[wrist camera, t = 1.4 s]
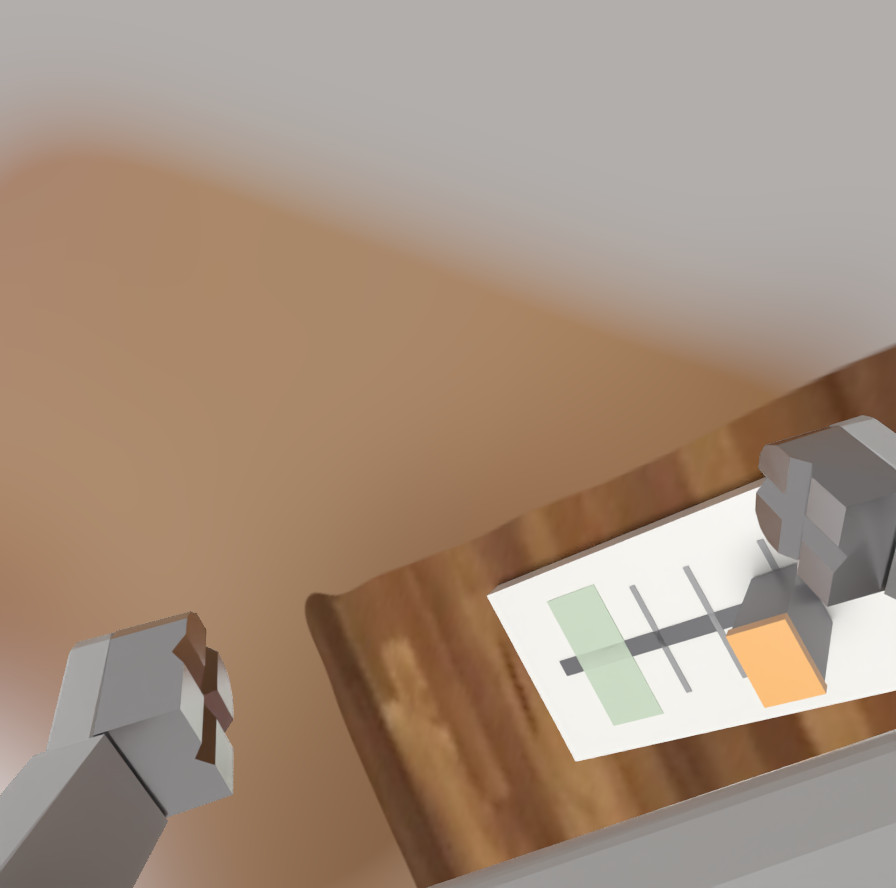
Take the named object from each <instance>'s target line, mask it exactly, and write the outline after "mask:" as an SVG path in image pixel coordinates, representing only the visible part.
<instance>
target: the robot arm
mask: <svg viewBox="0 0 896 888" xmlns="http://www.w3.org/2000/svg"><path fill="white" fill-rule="evenodd" d="M759 469H760V471H761V472H762V473H763V474H764V475H765V476H766V477H767V478H766V480H765V481H764V482H763V484H762V485H761V486H760V488H759V489H758V491H757V492H756V503H755V512H756V515H757V519H758V522H759V526H760V529H761V530H762V532H763V534H764V536H765V537H766V539H767V541H768V542H769V543H770V544H771V545H772V547H773V548H774V549H775V550H776V551H777V552H778V553H779V554H782V555H785V556H787V557H790V558H792V559H795V560H798V564H797V575H798V576H799V577H800V578H801V579H802V580H803V581H804V582H805V583H806V584H807V585H808V587H809V588H810V589H811V590H812V591H813V592H814V593H815V594H816V595H817V596H818V597H819V599H820V600H821V601H822V602H823V603H824V604H825V605H826V606H827V607H829V606H833V605H836V604H840V603H843V602H847V601H850V600H854V599H857V598H861V597H864V596H868V595H871V594H875V593H878V592H882V591H885V592H884V594H885V595H887V596H889V597H892V598H894V599H896V433H894V432H893V431H891V430H890V429H889V428H887V427H886V426H884V425H883V424H882V423H880V422H879V421H878V420H876V419H875V418H872V417H868V416H864V415H862V416H859V417H856V418H852V419H849V420H846V421H843V422H839V423H836V424H833V425H830V426H829V427H824V428H821V429H818V430H814V431H811V432H808V433H804V434H801V435H798V436H794V437H791V438H787V439H784V440H781V441H777V442H774V443H771V444H767V445H765V446H764V448H763V450H762V452H761V453H760V459H759ZM232 721H233V698H232V693H231V686H230V681H229V677H228V674H227V671H226V668H225V665H224V663H223V661H222V659H221V657H220V655H219V653H218V652H217V651H215V650H213V649H211V648H208V647H206V628H205V627H204V625H203V623H202V622H201V620H200V618H199V616H198V615H197V613H194V612H191V611H190V612H187V613H183V614H179V615H176V616H172V617H168V618H164V619H160V620H157V621H153V622H149V623H145V624H142V625H138V626H134V627H130V628H127V629H123V630H119V631H116V632H115V633H111V634H107V635H103V636H99V637H96V638H92V639H88V640H84V641H80V642H77V643H76V645H75V646H74V647H73V648H72V650H71V651H70V653H69V657H68V661H67V666H66V670H65V674H64V678H63V682H62V686H61V690H60V695H59V699H58V703H57V707H56V711H55V715H54V720H53V724H52V728H51V732H50V736H49V741H48V745H47V749H46V752H43V753H40V754H37V755H34V756H33V757H32V758H31V759H30V760H29V762H28V763H27V764H26V765H25V766H24V767H23V769H22V770H21V771H20V772H19V773H18V775H17V776H16V777H15V778H14V779H13V781H12V782H11V783H10V784H9V785H8V786H7V788H6V789H5V790H4V791H3V793H1V795H0V888H133V887H134V885H135V883H136V881H137V879H138V877H139V875H140V873H141V871H142V869H143V868H144V866H145V864H146V862H147V860H148V858H149V856H150V854H151V852H152V851H153V849H154V847H155V845H156V843H157V841H158V839H159V837H160V835H161V834H162V832H163V830H164V828H165V826H166V824H167V822H168V820H167V819H166V818H167V817H169V816H172V815H175V814H178V813H181V812H184V811H187V810H190V809H193V808H196V807H198V806H201V805H204V804H207V803H210V802H213V801H215V800H219V799H222V798H225V797H227V796H230V795H233V747H232V746H231V744H230V742H229V741H228V739H227V737H226V735H225V731H226V730H227V728H228V727H229V725H230V724H231V722H232ZM428 888H896V730H893V731H890V732H887V733H884V734H881V735H878V736H875V737H872V738H869V739H866V740H863V741H860V742H857V743H854V744H851V745H848V746H845V747H842V748H839V749H836V750H833V751H830V752H827V753H824V754H821V755H819V756H816V757H813V758H810V759H807V760H804V761H801V762H798V763H795V764H792V765H789V766H786V767H783V768H780V769H777V770H774V771H771V772H768V773H765V774H762V775H759V776H756V777H753V778H750V779H747V780H744V781H742V782H739V783H736V784H733V785H730V786H727V787H724V788H721V789H718V790H715V791H712V792H709V793H706V794H703V795H700V796H697V797H694V798H691V799H688V800H685V801H682V802H679V803H676V804H673V805H670V806H667V807H665V808H662V809H659V810H656V811H653V812H650V813H647V814H644V815H641V816H638V817H635V818H632V819H629V820H626V821H623V822H620V823H617V824H614V825H611V826H608V827H605V828H602V829H599V830H596V831H594V832H591V833H588V834H585V835H582V836H579V837H576V838H573V839H570V840H567V841H564V842H561V843H558V844H555V845H552V846H549V847H546V848H543V849H540V850H537V851H534V852H531V853H528V854H525V855H523V856H520V857H517V858H514V859H511V860H508V861H505V862H502V863H499V864H496V865H493V866H490V867H487V868H484V869H481V870H478V871H475V872H472V873H469V874H466V875H463V876H460V877H457V878H454V879H451V880H448V881H445V882H442V883H440V884H437V885H434V886H431V887H428Z"/></svg>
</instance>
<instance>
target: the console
mask: <svg viewBox="0 0 896 888" xmlns="http://www.w3.org/2000/svg"><path fill="white" fill-rule="evenodd" d="M766 478H767V477H764V478H762V479H759V480H757V481H754V482H752V483H749V484H747V485H745V486H742V487H740V488H737V489H735V490H732V491H730V492H727V493H725V494H722V495H720V496H717V497H715V498H713V499H710V500H708V501H705V502H703V503H700V504H698V505H695V506H693V507H690V508H688V509H685V510H683V511H680V512H678V513H676V514H673V515H671V516H668V517H666V518H663V519H661V520H658V521H656V522H653V523H651V524H648V525H646V526H643V527H641V528H639V529H636V530H634V531H631V532H629V533H626V534H624V535H621V536H619V537H616V538H614V539H611V540H609V541H607V542H604V543H602V544H599V545H597V546H594V547H592V548H589V549H587V550H584V551H582V552H579V553H577V554H574V555H572V556H570V557H567V558H565V559H562V560H560V561H557V562H555V563H552V564H550V565H547V566H545V567H542V568H540V569H538V570H535V571H533V572H530V573H528V574H525V575H523V576H520V577H518V578H515V579H513V580H510V581H508V582H505V583H503V584H501V585H498V586H497V587H496V588H495V589H494V590H493V591H492V592H490V593H489V594H488V595H487V597H488V599H489V601H490V603H491V605H492V606H493V608H494V610H495V612H496V614H497V616H498V618H499V619H500V621H501V623H502V625H503V627H504V629H505V631H506V632H507V634H508V636H509V638H510V640H511V642H512V644H513V645H514V647H515V649H516V651H517V653H518V655H519V657H520V659H521V660H522V662H523V664H524V666H525V668H526V670H527V672H528V673H529V675H530V677H531V679H532V681H533V683H534V685H535V686H536V688H537V690H538V692H539V694H540V696H541V698H542V700H543V701H544V703H545V705H546V707H547V709H548V711H549V713H550V714H551V716H552V718H553V720H554V722H555V724H556V726H557V727H558V729H559V731H560V733H561V735H562V737H563V739H564V741H565V742H566V744H567V746H568V748H569V750H570V752H571V754H572V755H573V757H574V759H575V761H581V760H585V759H590V758H594V757H599V756H603V755H608V754H612V753H617V752H621V751H626V750H630V749H635V748H639V747H644V746H648V745H653V744H657V743H662V742H666V741H671V740H675V739H680V738H684V737H689V736H693V735H698V734H702V733H707V732H711V731H716V730H720V729H725V728H729V727H734V726H738V725H743V724H747V723H752V722H756V721H761V720H765V719H770V718H774V717H779V716H783V715H788V714H792V713H796V712H801V711H805V710H810V709H814V708H819V707H823V706H828V705H832V704H837V703H841V702H846V701H850V700H855V699H859V698H864V697H868V696H873V695H877V694H882V693H886V692H891V691H895V690H896V599H894V598H892V597H889V596H887V595H885V594H884V592H885V591H882V592H878V593H875V594H871V595H868V596H864V597H861V598H857V599H854V600H850V601H847V602H843V603H840V604H836V605H833V606H829V607H827V606H826V605H825V604H824V603H823V602H822V601H821V602H822V604H823V605H824V607H825V609H826V611H827V613H828V614H829V616H830V618H831V620H832V622H833V625H832V633H831V640H830V647H829V654H828V662H827V669H826V676H825V683H826V684H827V692H826V694H824V695H819V696H815V697H811V698H806V699H802V700H798V701H793V702H789V703H785V704H780V705H776V706H772V707H767V708H764V706H763V704H762V702H761V700H760V699H759V697H758V695H757V693H756V691H755V689H754V688H753V686H752V684H751V682H750V680H749V679H748V677H747V675H746V673H745V671H744V669H743V668H742V666H741V664H740V662H739V660H738V658H737V657H736V655H735V653H734V651H733V649H732V647H731V646H730V644H729V642H728V640H727V638H726V635H727V632H728V630H730V629H732V627H733V625H734V622H735V620H736V617H737V615H738V612H739V609H740V607H741V604H742V602H743V599H744V597H745V594H746V592H747V589H748V587H749V584H750V581H751V579H752V578H755V577H758V576H761V575H764V574H767V573H770V572H773V571H776V570H779V569H782V568H785V567H788V566H791V565H794V564H797V563H798V560H795V559H792V558H790V557H787V556H785V555H782V554H779V553H778V552H777V551H776V550H775V549H774V548H773V547H772V545H771V544H770V543H769V542H768V541H767V539H766V537H765V536H764V534H763V532H762V530H761V529H760V526H759V522H758V519H757V515H756V512H755V503H756V492H757V491H758V489H759V488H760V486H761V485H762V484H763V482H764V481H765V480H766Z"/></svg>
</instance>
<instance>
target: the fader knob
mask: <svg viewBox="0 0 896 888" xmlns="http://www.w3.org/2000/svg"><path fill="white" fill-rule="evenodd" d="M797 564H798V563H797ZM797 564H794V565H791V566H788V567H785V568H782V569H779V570H776V571H773V572H770V573H767V574H764V575H761V576H758V577H755V578H752V579H751V581H750V584H749V587H748V589H747V592H746V594H745V597H744V599H743V602H742V604H741V607H740V609H739V612H738V615H737V617H736V620H735V622H734V625H733V627H732V629H730V630H728V632H727V635H726V638H727V640H728V642H729V644H730V646H731V647H732V649H733V651H734V653H735V655H736V657H737V658H738V660H739V662H740V664H741V666H742V668H743V669H744V671H745V673H746V675H747V677H748V679H749V680H750V682H751V684H752V686H753V688H754V689H755V691H756V693H757V695H758V697H759V699H760V700H761V702H762V704H763V706H764V708H767V707H772V706H776V705H780V704H785V703H789V702H793V701H798V700H802V699H806V698H811V697H815V696H819V695H824V694H826V692H827V684H826V683H825V676H826V669H827V662H828V654H829V647H830V640H831V633H832V625H833V622H832V620H831V618H830V616H829V614H828V613H827V611H826V609H825V607H824V605H823V604H822V602H821V600H820V599H819V597H818V596H817V595H816V594H815V593H814V592H813V591H812V590H811V589H810V588H809V587H808V585H807V584H806V583H805V582H804V581H803V580H802V579H801V578H800V577H799V576H798V575H797Z"/></svg>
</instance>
